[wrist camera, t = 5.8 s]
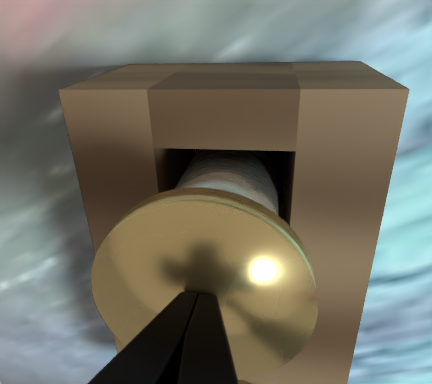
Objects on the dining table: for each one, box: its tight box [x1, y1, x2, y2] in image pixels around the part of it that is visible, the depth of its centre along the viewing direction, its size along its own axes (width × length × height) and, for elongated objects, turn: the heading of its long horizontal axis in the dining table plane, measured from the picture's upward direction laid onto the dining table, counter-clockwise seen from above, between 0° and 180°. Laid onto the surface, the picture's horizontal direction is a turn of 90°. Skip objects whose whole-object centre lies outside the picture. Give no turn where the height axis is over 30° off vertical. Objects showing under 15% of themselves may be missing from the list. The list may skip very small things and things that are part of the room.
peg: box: [91, 149, 318, 380], centre depth 11 cm, size 5×5×6 cm
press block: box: [58, 61, 409, 384], centre depth 17 cm, size 19×10×6 cm, turn 2°
